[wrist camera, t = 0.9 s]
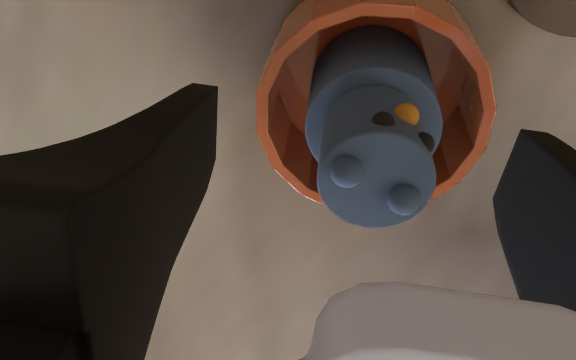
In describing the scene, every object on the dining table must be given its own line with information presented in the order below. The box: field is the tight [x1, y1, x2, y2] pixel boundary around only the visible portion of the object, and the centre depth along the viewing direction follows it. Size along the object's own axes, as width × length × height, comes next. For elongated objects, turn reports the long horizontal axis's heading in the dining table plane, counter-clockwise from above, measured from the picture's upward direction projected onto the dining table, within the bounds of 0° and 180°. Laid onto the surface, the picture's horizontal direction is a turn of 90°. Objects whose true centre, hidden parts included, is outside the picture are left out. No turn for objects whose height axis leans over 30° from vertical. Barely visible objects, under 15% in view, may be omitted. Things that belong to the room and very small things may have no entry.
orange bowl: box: [256, 0, 497, 206], centre depth 21 cm, size 8×8×4 cm
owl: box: [305, 25, 443, 228], centre depth 19 cm, size 5×5×8 cm
